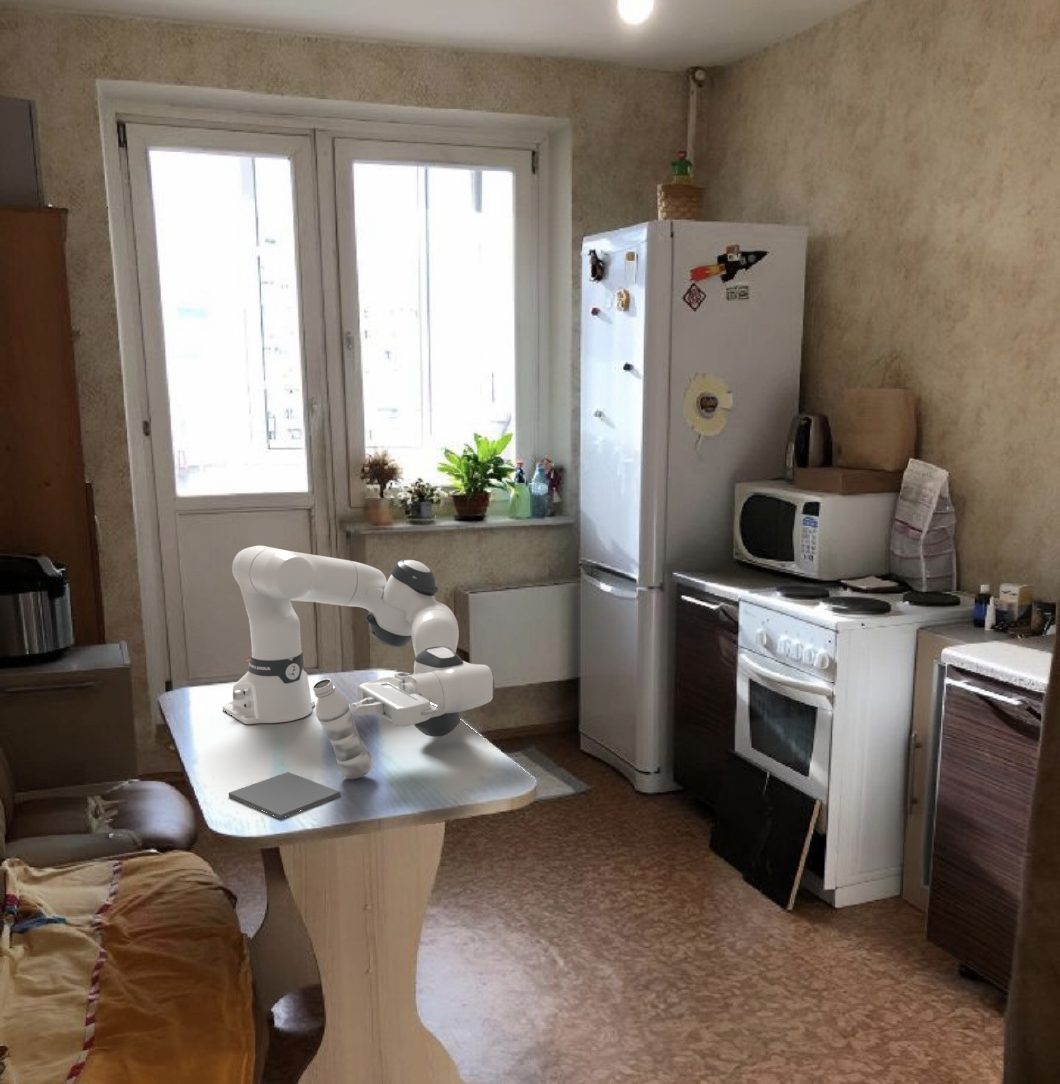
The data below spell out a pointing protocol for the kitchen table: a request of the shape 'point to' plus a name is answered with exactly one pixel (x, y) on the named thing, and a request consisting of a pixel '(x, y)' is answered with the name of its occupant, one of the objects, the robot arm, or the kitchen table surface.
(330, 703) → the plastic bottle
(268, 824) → the kitchen table surface
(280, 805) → the mat
